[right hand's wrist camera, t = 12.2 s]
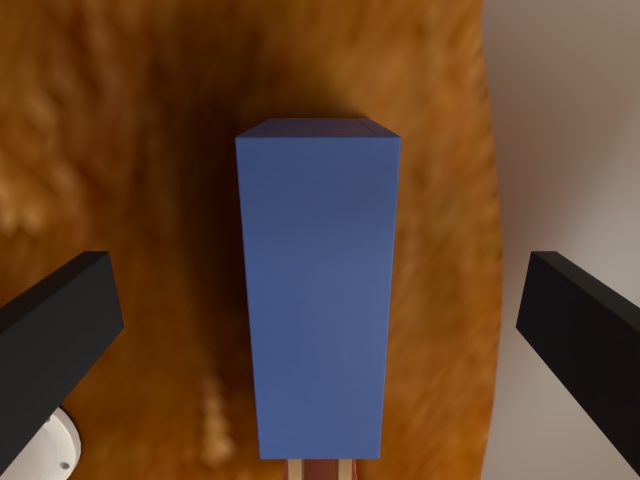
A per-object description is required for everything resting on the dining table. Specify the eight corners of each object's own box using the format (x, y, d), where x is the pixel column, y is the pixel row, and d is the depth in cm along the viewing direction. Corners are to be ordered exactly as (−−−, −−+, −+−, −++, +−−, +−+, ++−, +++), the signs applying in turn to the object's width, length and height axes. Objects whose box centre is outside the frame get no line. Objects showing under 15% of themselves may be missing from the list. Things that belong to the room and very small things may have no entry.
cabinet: (360, 339, 32) (379, 459, 22) (279, 339, 32) (259, 460, 22) (369, 117, 26) (402, 135, 15) (268, 118, 26) (233, 136, 15)
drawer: (349, 481, 36) (358, 603, 28) (291, 481, 36) (282, 604, 28) (356, 263, 29) (372, 339, 20) (282, 263, 29) (266, 339, 20)
